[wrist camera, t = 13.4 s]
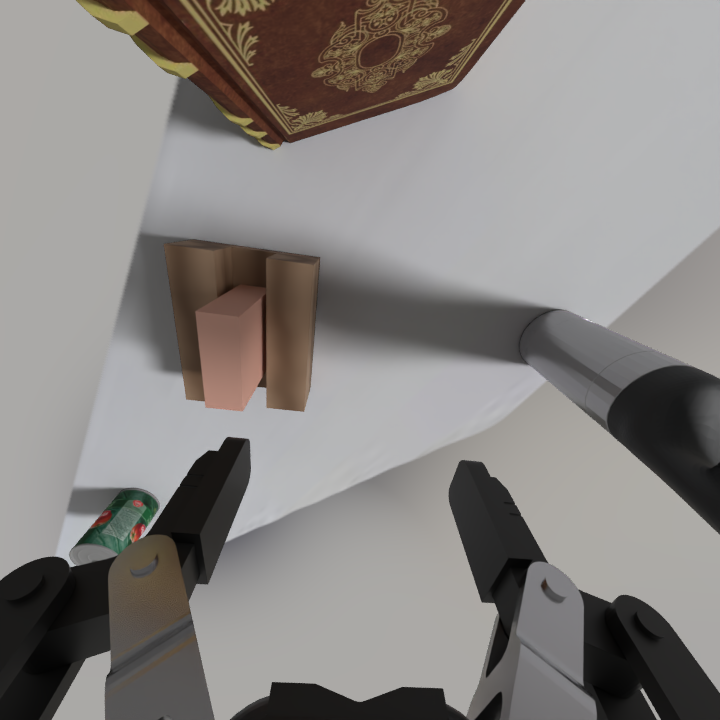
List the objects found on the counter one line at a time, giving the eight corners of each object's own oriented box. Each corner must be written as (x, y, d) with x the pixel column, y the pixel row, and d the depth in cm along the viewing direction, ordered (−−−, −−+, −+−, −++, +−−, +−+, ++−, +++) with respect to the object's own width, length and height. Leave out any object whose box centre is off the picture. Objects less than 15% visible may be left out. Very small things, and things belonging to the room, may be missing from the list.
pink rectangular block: (271, 288, 38) (238, 316, 28) (270, 362, 43) (242, 411, 32) (240, 284, 38) (195, 311, 27) (243, 359, 43) (205, 407, 32)
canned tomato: (115, 485, 56) (63, 542, 46) (158, 490, 57) (116, 548, 47) (120, 512, 59) (74, 571, 50) (161, 517, 60) (123, 576, 50)
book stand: (320, 257, 38) (313, 264, 32) (310, 387, 47) (304, 411, 41) (193, 239, 37) (163, 243, 31) (207, 376, 46) (186, 399, 40)
